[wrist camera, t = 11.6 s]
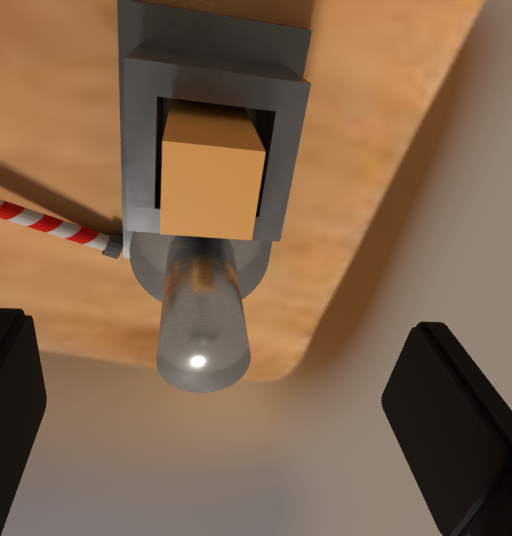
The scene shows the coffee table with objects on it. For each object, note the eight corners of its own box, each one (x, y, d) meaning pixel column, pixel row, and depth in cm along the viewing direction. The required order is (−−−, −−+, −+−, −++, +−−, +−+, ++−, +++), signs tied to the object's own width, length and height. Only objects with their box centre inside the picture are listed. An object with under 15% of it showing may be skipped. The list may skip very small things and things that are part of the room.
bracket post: (121, -2, 26) (44, -2, 13) (306, 29, 28) (407, 56, 15) (126, 268, 37) (87, 425, 23) (261, 276, 39) (297, 422, 25)
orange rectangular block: (173, 89, 28) (162, 140, 18) (240, 98, 29) (265, 151, 19) (170, 155, 30) (159, 234, 20) (233, 162, 31) (251, 240, 21)
